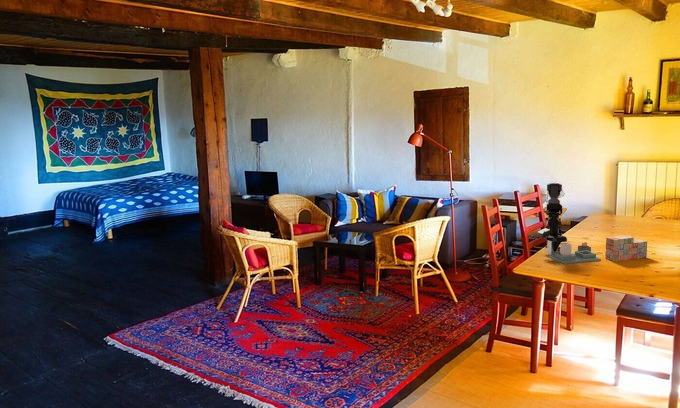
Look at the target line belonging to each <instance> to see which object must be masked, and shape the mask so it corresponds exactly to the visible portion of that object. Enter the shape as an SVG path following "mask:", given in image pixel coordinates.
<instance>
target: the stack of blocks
mask: <svg viewBox="0 0 680 408" xmlns="http://www.w3.org/2000/svg"><path fill="white" fill-rule="evenodd" d="M605 241H606V243H605V257H604V258H606V259H605V260H608V259H609V260H608V261H611V260H612V261H611V262H613V261H614V262H621V260H623V261H629V260H630V259H631V260H636V259H637V260H638V259H645V258H647V255H648V254H647V252H648V240H647V241H646V240H643V239H640V238H634V237H633V236H629V235H625V234H623V235H616V236H607V237H606V239H605Z"/></svg>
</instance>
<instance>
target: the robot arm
mask: <svg viewBox="0 0 680 408" xmlns="http://www.w3.org/2000/svg"><path fill="white" fill-rule="evenodd" d="M546 191H547V194H548V197H549V199H548V200H547V201H548V203H547V204H546V216H547V225H545V228H543V229H540V230H538V231H537V235H538V237H539V238H541V239H544V240H546V244H547V245H548V240H551V242H552V243H553V251H554V252H556V250H557V249H558V250H559V249H560V245H561V243H568V242H567V241H568V238H567V237H566V236H565V235H563V230H562V229H561V226H560V216H562V214H563V205H562V204H561V200H560V199H559V197H560V196H561V192H562V191H563V184H561V183H557V182H553V183H552V182H551V183H548V184H547V185H546ZM547 245H544V247H545V248H547Z"/></svg>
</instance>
